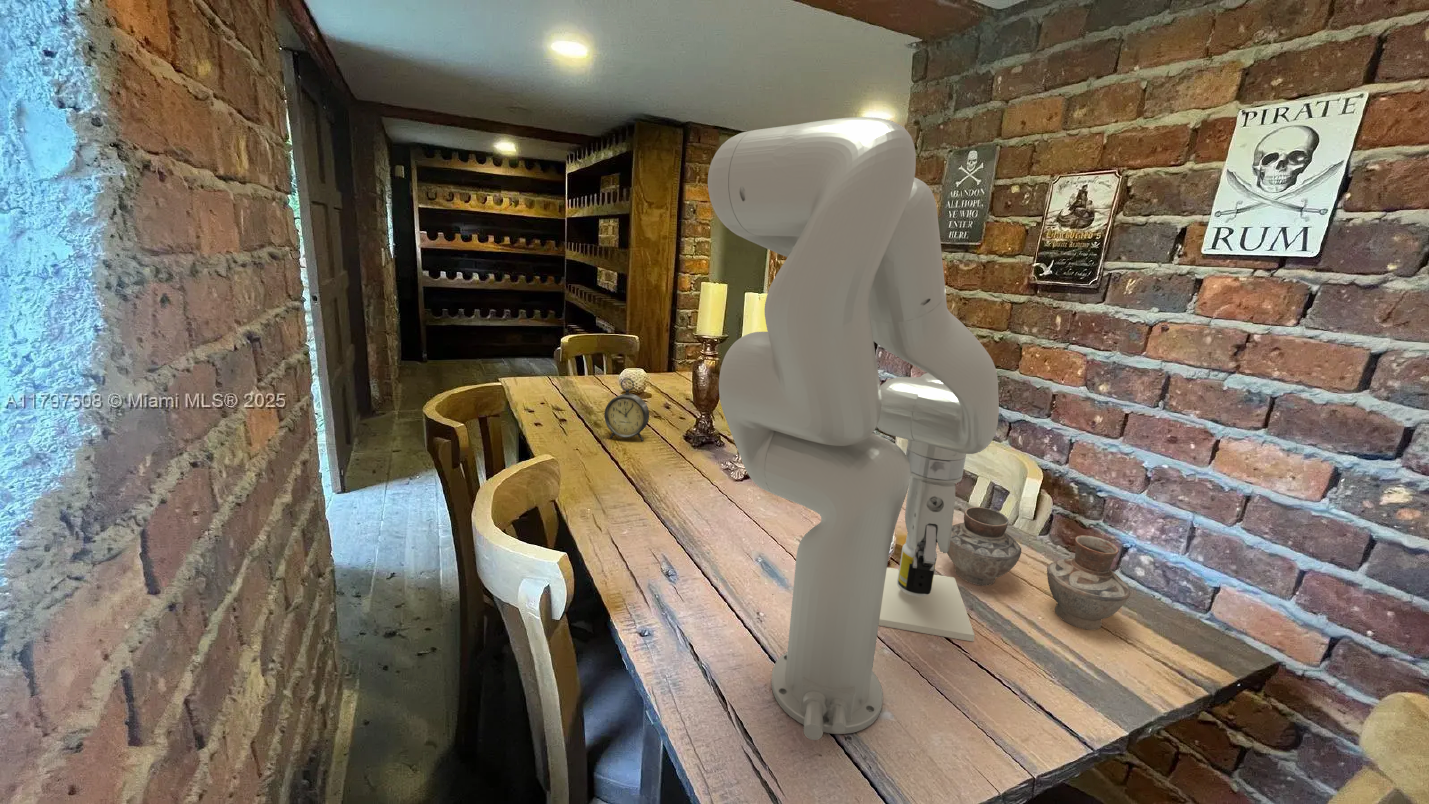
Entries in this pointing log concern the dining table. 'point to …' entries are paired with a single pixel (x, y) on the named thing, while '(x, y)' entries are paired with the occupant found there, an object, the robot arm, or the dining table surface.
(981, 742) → the dining table surface
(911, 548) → the supplement bottle
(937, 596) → the cream board
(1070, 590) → the pottery
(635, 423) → the alarm clock
